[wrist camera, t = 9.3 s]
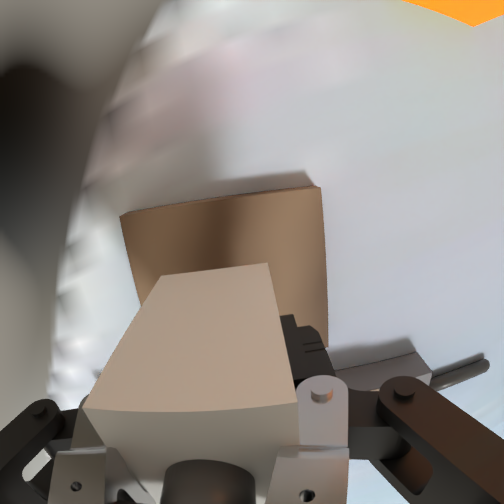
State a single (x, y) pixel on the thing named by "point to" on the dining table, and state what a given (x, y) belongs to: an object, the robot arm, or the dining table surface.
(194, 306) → the plug
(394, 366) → the grey panel with rod
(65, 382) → the dining table surface
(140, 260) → the walnut board
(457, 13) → the orange juice
